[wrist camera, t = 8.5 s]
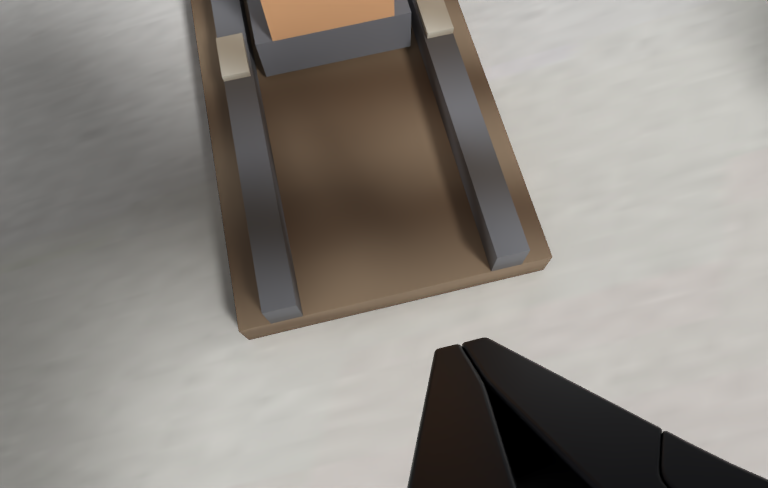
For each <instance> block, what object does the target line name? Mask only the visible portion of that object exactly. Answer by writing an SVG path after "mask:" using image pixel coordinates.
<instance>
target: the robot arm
mask: <svg viewBox="0 0 768 488" xmlns="http://www.w3.org/2000/svg"><path fill="white" fill-rule="evenodd" d="M407 488H768V480H767V479H765V478H763V477H761V476H758V475H756V474H754V473H752V472H749V471H747V470H745V469H743V468H740V467H738V466H736V465H734V464H731V463H729V462H727V461H725V460H723V459H721V458H719V457H717V456H715V455H713V454H711V453H709V452H707V451H705V450H703V449H701V448H699V447H697V446H695V445H693V444H691V443H689V442H687V441H685V440H683V439H681V438H679V437H677V436H675V435H673V434H672V433H670V432H668V431H664V432H663V433H662V429H661V428H660V427H658V426H656V425H654V424H652V423H650V422H648V421H646V420H644V419H642V418H640V417H638V416H637V415H635V414H633V413H631V412H629V411H627V410H625V409H623V408H621V407H619V406H617V405H615V404H614V403H612V402H610V401H608V400H606V399H604V398H602V397H600V396H598V395H596V394H594V393H592V392H590V391H589V390H587V389H585V388H583V387H581V386H579V385H577V384H575V383H573V382H571V381H569V380H567V379H566V378H564V377H562V376H560V375H558V374H556V373H554V372H552V371H550V370H548V369H546V368H544V367H543V366H541V365H539V364H537V363H535V362H533V361H531V360H529V359H527V358H525V357H523V356H521V355H519V354H518V353H516V352H514V351H512V350H510V349H508V348H506V347H504V346H502V345H500V344H498V343H496V342H495V341H493V340H491V339H489V338H480V339H476V340H472V341H468V342H465V343H463V344H462V347H461V346H460V345H458V344H456V345H452V346H447V347H443V348H439V349H437V350H436V351H435V353H434V357H433V362H432V367H431V372H430V377H429V382H428V387H427V392H426V397H425V402H424V407H423V412H422V417H421V422H420V427H419V432H418V437H417V442H416V447H415V452H414V457H413V462H412V467H411V472H410V477H409V482H408V486H407Z"/></svg>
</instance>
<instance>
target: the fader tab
mask: <svg viewBox="0 0 768 488" xmlns="http://www.w3.org/2000/svg"><path fill="white" fill-rule="evenodd" d="M247 4H248V9H249V14H250V19H251V25H252V30H253V35H254V40H255V45H256V48H257V51H258V54H259V57H260V60H261V62H262V65H263V68H264V71H265V74H266V77H268V76H273V75H278V74H282V73H287V72H292V71H296V70H301V69H306V68H311V67H315V66H320V65H325V64H329V63H334V62H339V61H344V60H348V59H353V58H358V57H362V56H367V55H372V54H377V53H381V52H386V51H391V50H395V49H400V48H405V47H410V46H411V10H410V7H409V4H408V1H407V0H247Z"/></svg>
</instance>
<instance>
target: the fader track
mask: <svg viewBox="0 0 768 488" xmlns="http://www.w3.org/2000/svg"><path fill="white" fill-rule="evenodd" d="M407 1H408V4H409V7H410V10H411V46H410V47H405V48H400V49H395V50H391V51H386V52H381V53H377V54H372V55H367V56H362V57H358V58H353V59H348V60H344V61H339V62H334V63H329V64H325V65H320V66H315V67H311V68H306V69H301V70H296V71H292V72H287V73H282V74H278V75H273V76H268V77H266V74H265V71H264V68H263V65H262V62H261V60H260V57H259V54H258V51H257V48H256V45H255V40H254V35H253V30H252V25H251V19H250V14H249V9H248V4H247V0H191V6H192V13H193V20H194V27H195V34H196V40H197V47H198V54H199V61H200V68H201V75H202V82H203V89H204V95H205V102H206V109H207V116H208V123H209V130H210V137H211V143H212V150H213V157H214V164H215V171H216V178H217V185H218V191H219V198H220V205H221V212H222V219H223V226H224V233H225V240H226V246H227V253H228V260H229V267H230V274H231V281H232V288H233V294H234V301H235V308H236V315H237V322H238V329H239V332H240V333H241V334H243V335H244V336H245V337H246V338H248V339H249V340H250V339H255V338H259V337H263V336H267V335H271V334H276V333H280V332H284V331H288V330H292V329H297V328H301V327H305V326H309V325H313V324H317V323H322V322H326V321H330V320H334V319H338V318H343V317H347V316H351V315H355V314H359V313H364V312H368V311H372V310H376V309H380V308H385V307H389V306H393V305H397V304H401V303H406V302H410V301H414V300H418V299H422V298H427V297H431V296H435V295H439V294H443V293H447V292H452V291H456V290H460V289H464V288H468V287H473V286H477V285H481V284H485V283H489V282H494V281H498V280H502V279H506V278H510V277H515V276H519V275H523V274H527V273H531V272H536V271H540V270H543V269H544V268H545V266H546V265H547V264H548V262H549V261H550V259H551V258H552V255H551V252H550V249H549V247H548V244H547V241H546V239H545V236H544V233H543V230H542V228H541V225H540V222H539V220H538V217H537V214H536V211H535V209H534V206H533V203H532V201H531V198H530V195H529V192H528V190H527V187H526V184H525V182H524V179H523V176H522V173H521V171H520V168H519V165H518V163H517V160H516V157H515V154H514V152H513V149H512V146H511V144H510V141H509V138H508V135H507V133H506V130H505V127H504V125H503V122H502V119H501V117H500V114H499V111H498V108H497V106H496V103H495V100H494V98H493V95H492V92H491V89H490V87H489V84H488V81H487V79H486V76H485V73H484V70H483V68H482V65H481V62H480V60H479V57H478V54H477V51H476V49H475V46H474V43H473V41H472V38H471V35H470V32H469V30H468V27H467V24H466V22H465V19H464V16H463V13H462V11H461V8H460V5H459V3H458V0H407Z"/></svg>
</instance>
